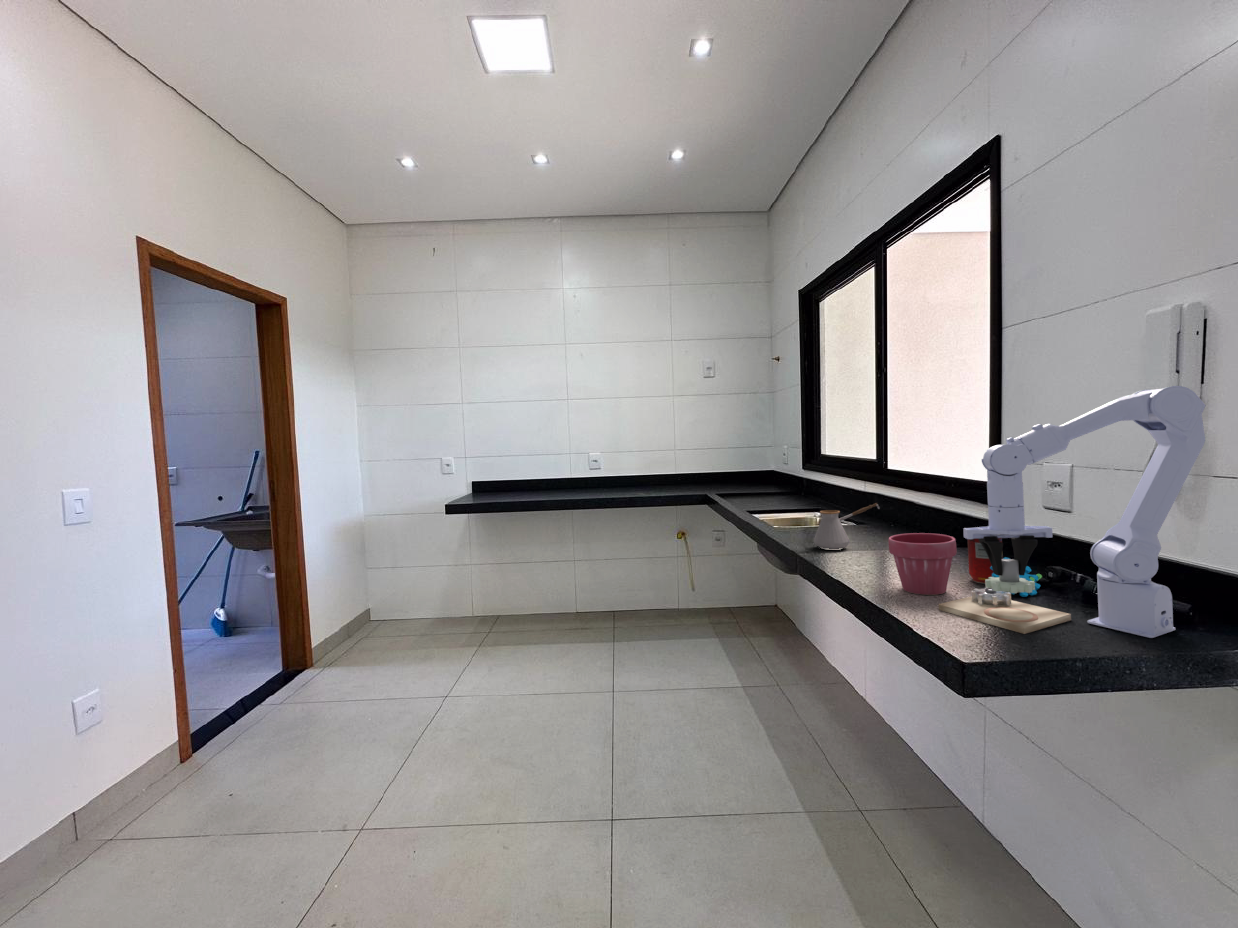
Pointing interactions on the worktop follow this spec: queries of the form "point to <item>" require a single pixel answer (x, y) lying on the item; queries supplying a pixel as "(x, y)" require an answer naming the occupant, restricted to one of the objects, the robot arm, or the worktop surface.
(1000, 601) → the sun gear
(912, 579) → the plant pot
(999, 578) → the gear
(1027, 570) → the blue piece
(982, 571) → the soda can
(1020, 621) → the carrier plate
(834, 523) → the coffee pot
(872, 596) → the worktop surface
